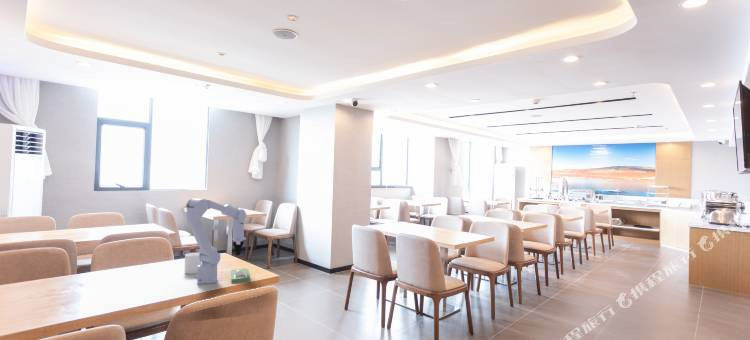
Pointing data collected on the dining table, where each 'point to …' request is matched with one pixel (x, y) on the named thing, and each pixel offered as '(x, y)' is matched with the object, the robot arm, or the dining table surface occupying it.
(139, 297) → the dining table surface
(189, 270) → the cup
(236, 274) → the ball
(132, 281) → the dining table surface
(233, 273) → the green
